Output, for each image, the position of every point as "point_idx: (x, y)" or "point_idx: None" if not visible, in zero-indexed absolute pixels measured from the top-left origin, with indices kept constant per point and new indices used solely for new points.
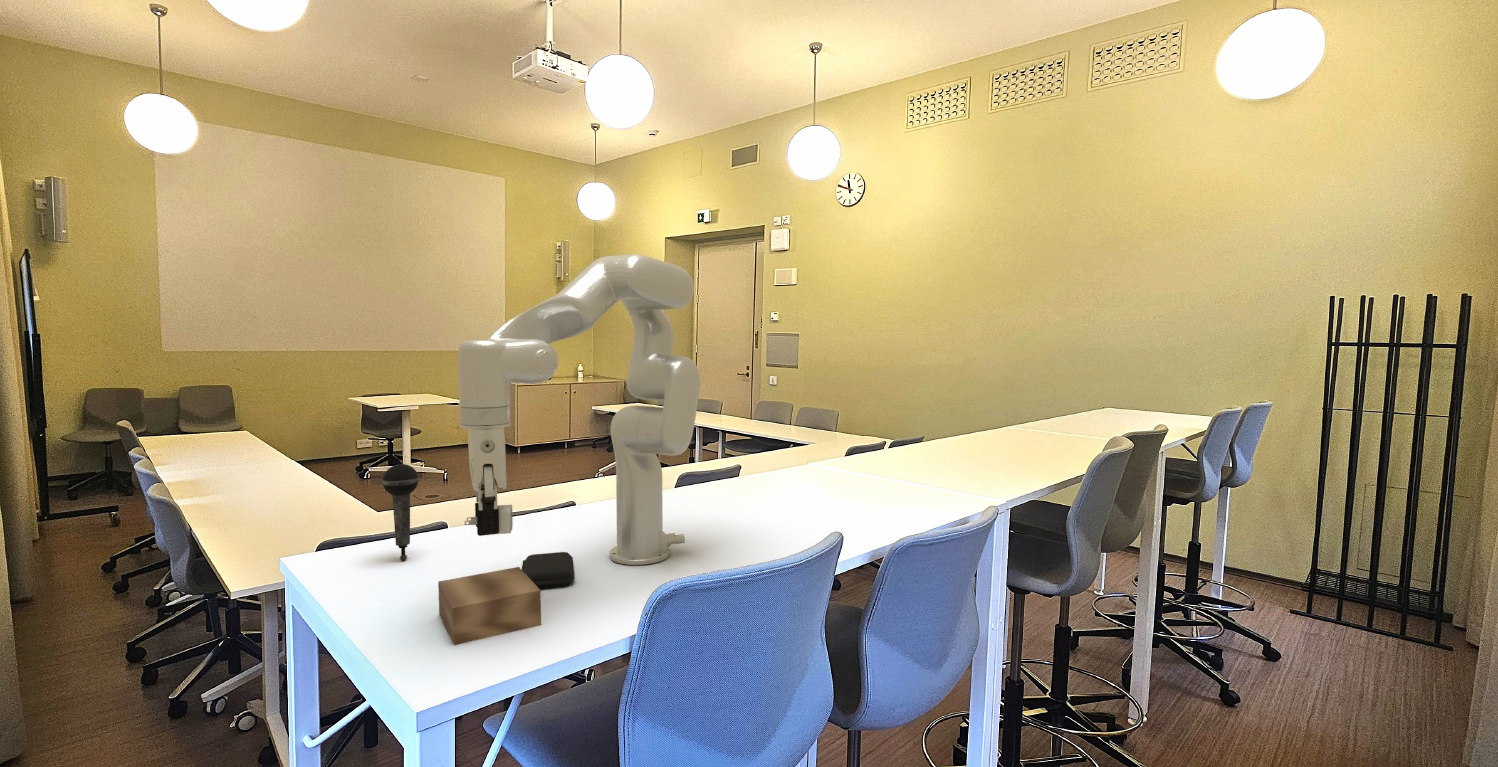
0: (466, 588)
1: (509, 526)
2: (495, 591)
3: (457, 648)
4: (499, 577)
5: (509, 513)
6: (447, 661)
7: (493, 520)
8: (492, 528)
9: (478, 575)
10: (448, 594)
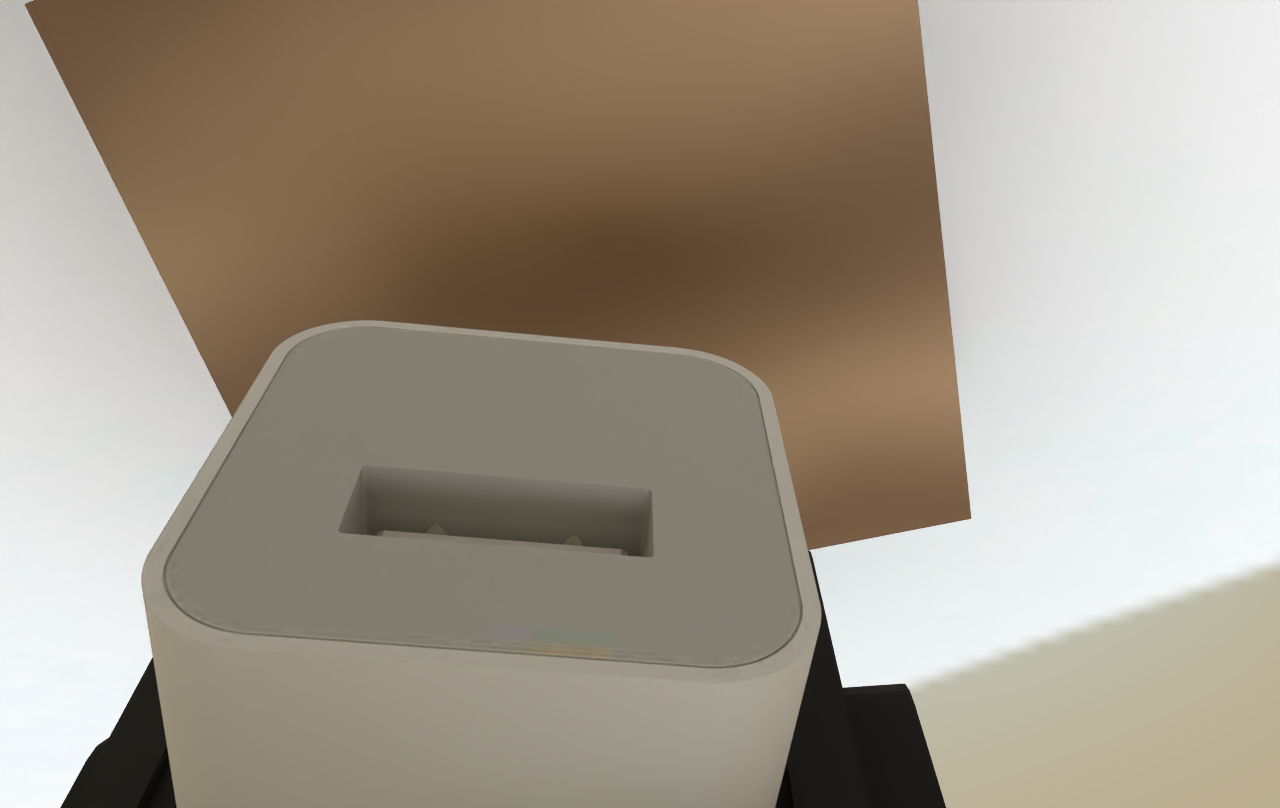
0: None
1: (779, 441)
2: (736, 234)
3: (967, 354)
4: (349, 204)
5: (817, 621)
6: (1118, 393)
7: (937, 805)
8: (902, 699)
9: (253, 382)
10: None
